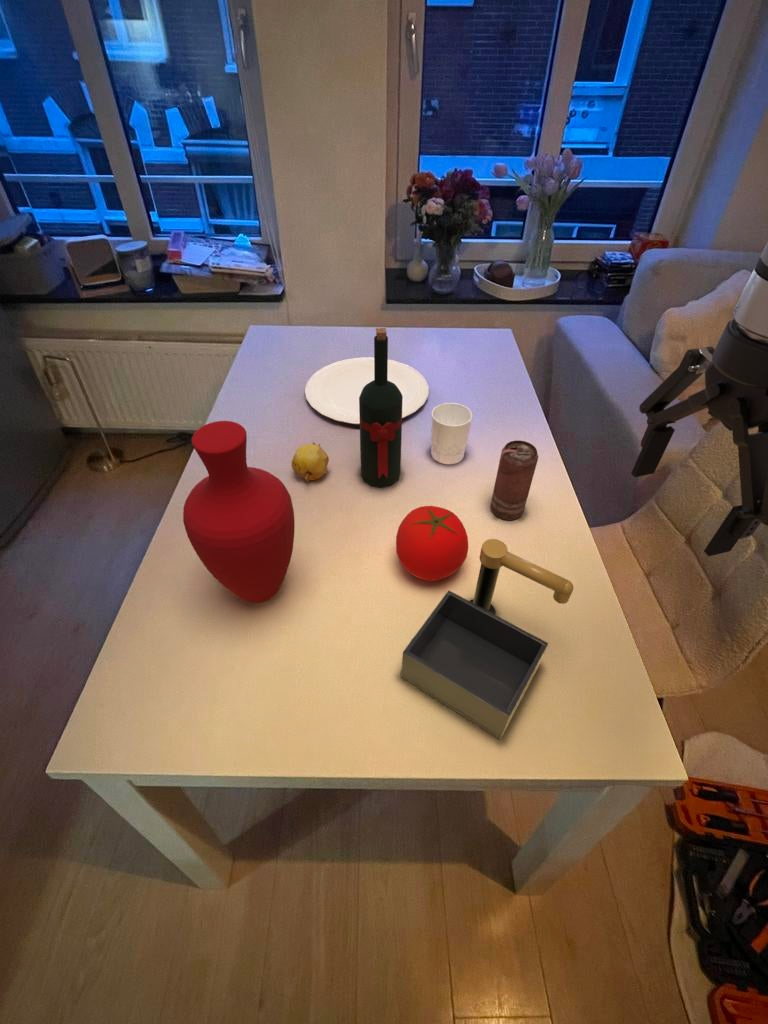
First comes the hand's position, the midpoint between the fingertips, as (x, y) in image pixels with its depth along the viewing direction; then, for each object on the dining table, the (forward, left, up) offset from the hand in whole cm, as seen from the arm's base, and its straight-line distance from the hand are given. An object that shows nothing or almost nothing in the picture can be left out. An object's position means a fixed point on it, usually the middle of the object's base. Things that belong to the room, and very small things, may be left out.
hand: (676, 509), depth 60 cm
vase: (-23, +49, -27) cm, 60 cm away
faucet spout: (-8, +13, -14) cm, 20 cm away
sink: (-17, +14, -26) cm, 34 cm away
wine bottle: (+10, +48, -27) cm, 56 cm away
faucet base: (-8, +17, -26) cm, 32 cm away
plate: (+33, +68, -27) cm, 80 cm away
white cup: (+24, +41, -27) cm, 54 cm away
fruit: (+3, +60, -27) cm, 66 cm away
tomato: (-3, +29, -27) cm, 39 cm away
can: (+16, +24, -27) cm, 39 cm away
